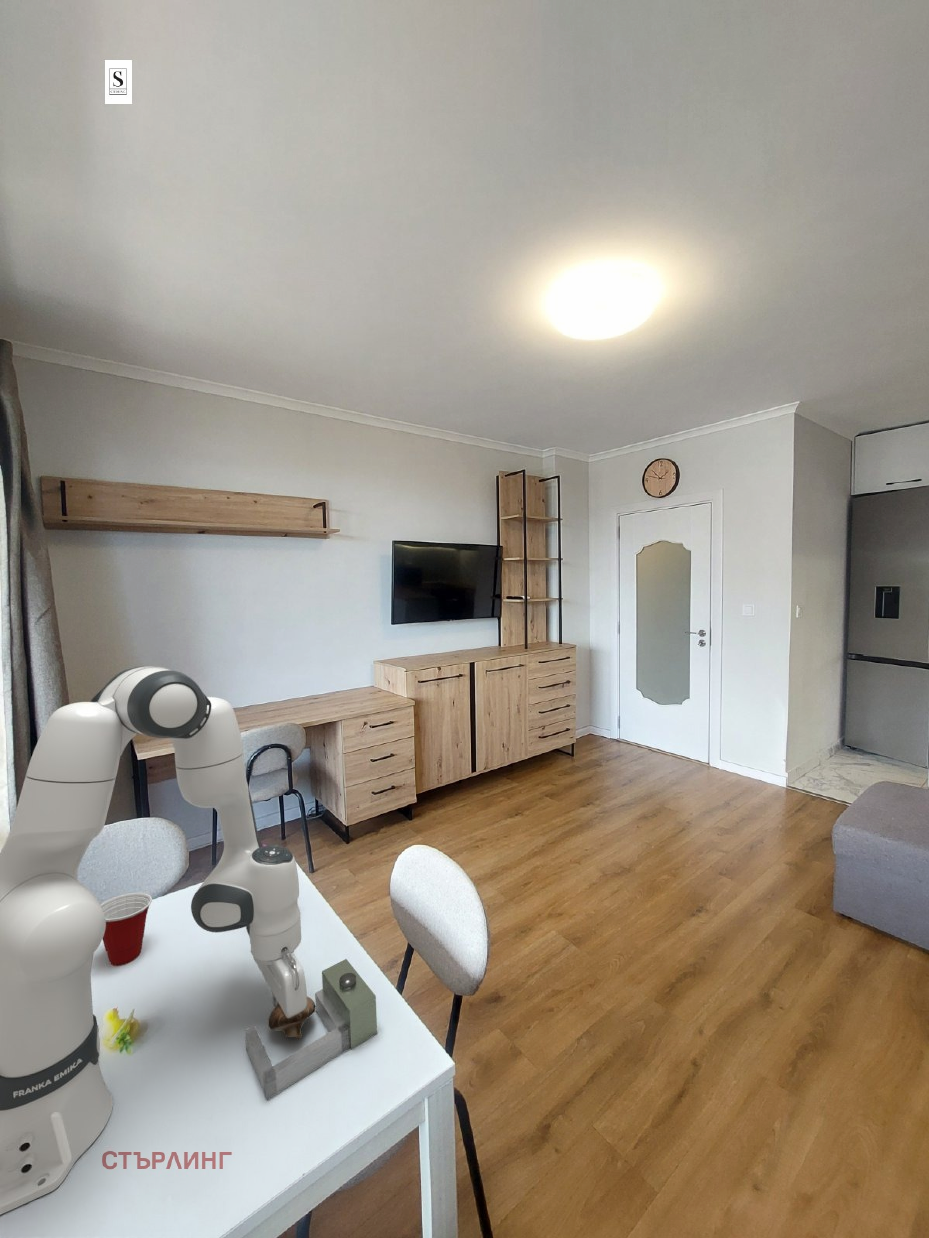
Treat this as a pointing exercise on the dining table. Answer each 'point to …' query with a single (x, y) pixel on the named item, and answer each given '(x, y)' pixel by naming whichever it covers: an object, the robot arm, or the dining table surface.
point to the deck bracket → (344, 1015)
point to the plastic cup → (125, 926)
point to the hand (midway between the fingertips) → (279, 1006)
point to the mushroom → (290, 1020)
